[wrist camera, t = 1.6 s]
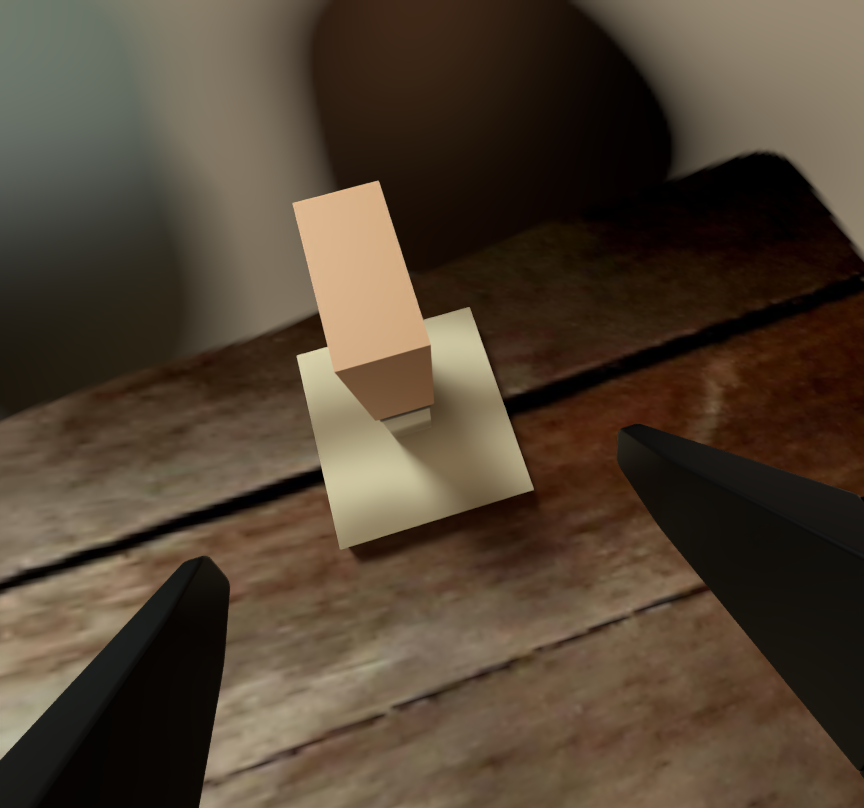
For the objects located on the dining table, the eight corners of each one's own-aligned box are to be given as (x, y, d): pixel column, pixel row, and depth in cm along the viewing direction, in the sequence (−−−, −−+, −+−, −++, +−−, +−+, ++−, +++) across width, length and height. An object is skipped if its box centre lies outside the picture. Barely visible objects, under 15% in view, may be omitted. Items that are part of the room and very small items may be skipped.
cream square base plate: (527, 490, 20) (564, 487, 14) (347, 545, 20) (307, 567, 14) (467, 319, 23) (477, 256, 17) (305, 364, 22) (256, 316, 16)
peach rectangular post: (434, 403, 15) (430, 344, 9) (375, 421, 15) (334, 372, 9) (400, 294, 16) (378, 180, 10) (345, 309, 16) (292, 203, 10)
